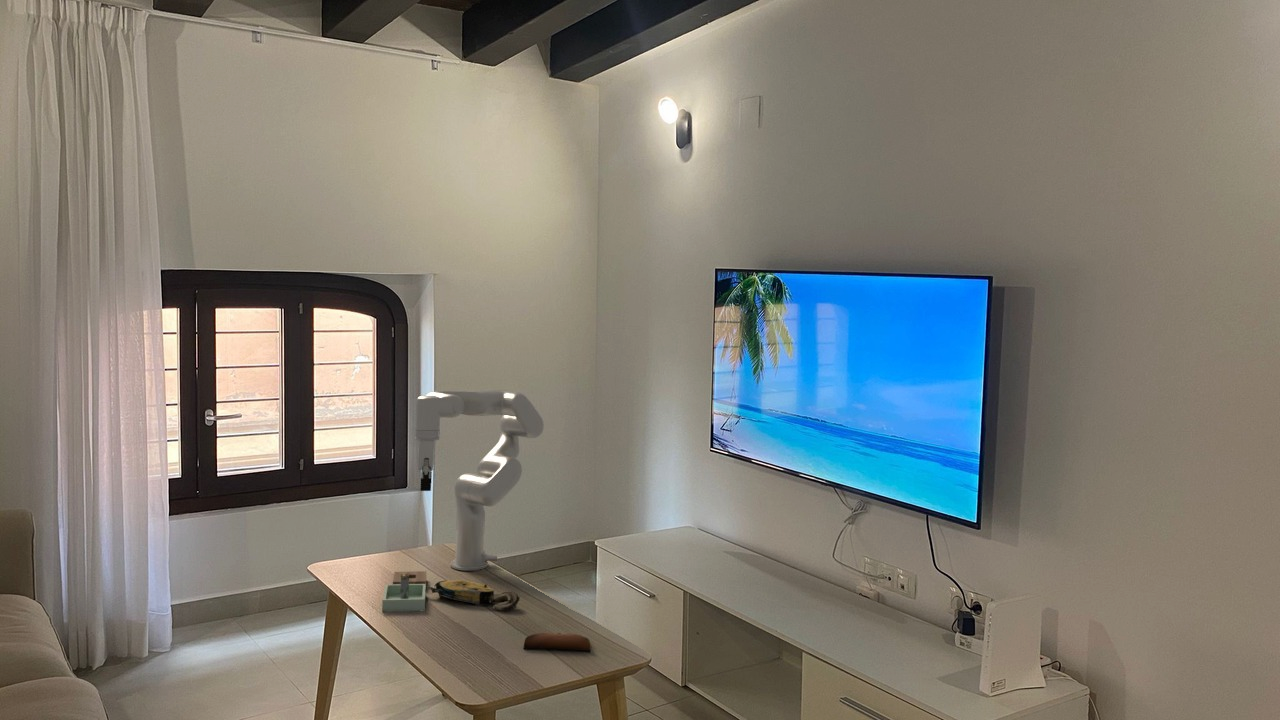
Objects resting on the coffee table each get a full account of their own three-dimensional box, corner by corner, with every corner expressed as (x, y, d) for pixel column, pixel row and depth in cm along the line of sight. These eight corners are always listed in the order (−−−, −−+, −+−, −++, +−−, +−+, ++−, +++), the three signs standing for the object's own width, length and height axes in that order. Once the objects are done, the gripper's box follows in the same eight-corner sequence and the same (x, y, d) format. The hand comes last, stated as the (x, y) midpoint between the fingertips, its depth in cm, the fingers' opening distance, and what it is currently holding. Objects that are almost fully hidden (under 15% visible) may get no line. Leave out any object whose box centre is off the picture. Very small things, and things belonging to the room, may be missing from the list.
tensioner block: (426, 580, 307) (426, 571, 306) (425, 590, 297) (425, 581, 297) (394, 580, 304) (394, 571, 304) (392, 591, 295) (392, 581, 294)
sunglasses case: (591, 640, 263) (592, 624, 259) (590, 662, 257) (590, 646, 253) (526, 638, 262) (525, 622, 258) (523, 659, 256) (523, 643, 253)
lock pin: (408, 599, 286) (409, 573, 286) (408, 602, 284) (408, 575, 283) (400, 599, 286) (401, 573, 285) (399, 602, 283) (400, 575, 283)
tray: (425, 594, 293) (425, 583, 293) (424, 610, 279) (424, 599, 279) (385, 595, 290) (385, 584, 290) (382, 611, 277) (382, 600, 276)
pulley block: (502, 596, 276) (425, 576, 291) (500, 616, 276) (422, 595, 291) (531, 591, 288) (455, 572, 303) (528, 611, 288) (452, 591, 303)
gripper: (416, 429, 311) (414, 481, 312) (414, 439, 294) (413, 493, 296) (439, 430, 312) (438, 481, 314) (439, 439, 296) (437, 493, 297)
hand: (425, 487), depth 305 cm, fingers open, 9 cm apart
